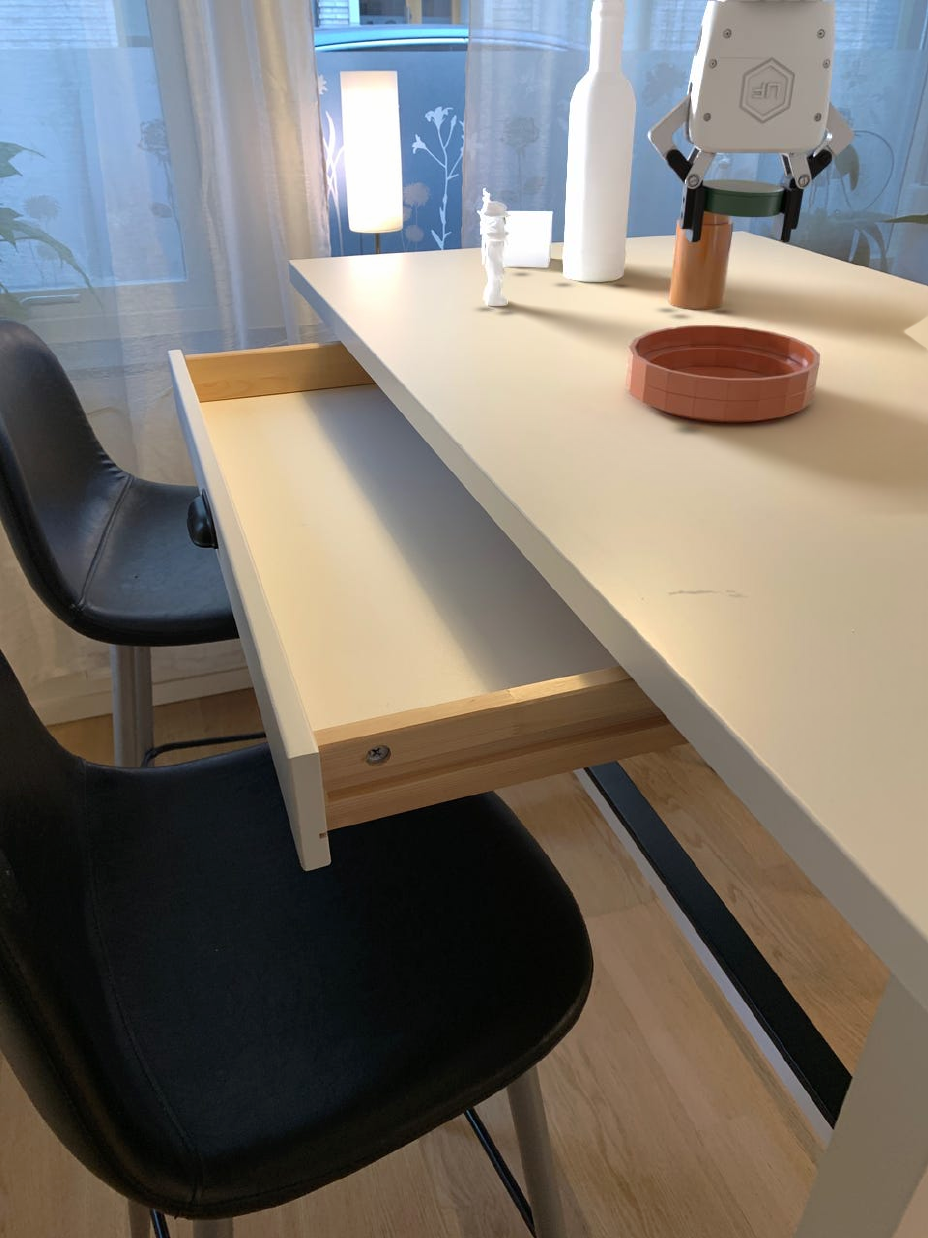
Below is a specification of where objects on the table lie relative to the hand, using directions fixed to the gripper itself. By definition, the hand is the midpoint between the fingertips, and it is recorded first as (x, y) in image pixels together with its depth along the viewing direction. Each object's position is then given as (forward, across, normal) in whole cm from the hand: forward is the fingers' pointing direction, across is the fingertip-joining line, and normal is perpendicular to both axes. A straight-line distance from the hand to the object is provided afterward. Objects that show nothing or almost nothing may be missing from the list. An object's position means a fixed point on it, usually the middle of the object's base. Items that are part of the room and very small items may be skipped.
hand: (736, 236), depth 80 cm
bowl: (+13, 0, 0) cm, 13 cm away
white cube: (+14, -14, +54) cm, 57 cm away
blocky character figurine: (+14, -19, +33) cm, 40 cm away
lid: (-4, 0, 0) cm, 4 cm away
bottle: (+14, -6, +46) cm, 48 cm away
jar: (+13, +5, +32) cm, 35 cm away
